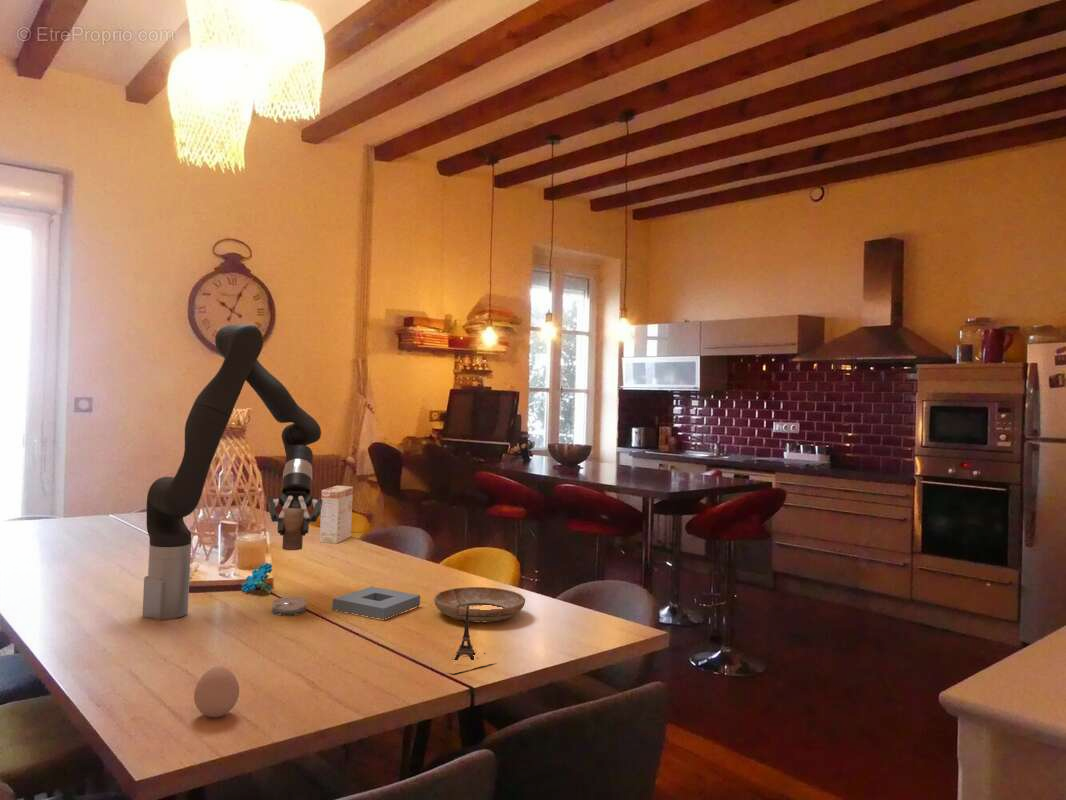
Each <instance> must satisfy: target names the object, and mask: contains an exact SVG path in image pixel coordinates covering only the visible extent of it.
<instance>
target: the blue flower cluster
mask: <svg viewBox="0 0 1066 800" xmlns="http://www.w3.org/2000/svg"><path fill="white" fill-rule="evenodd" d="M272 567H273V564H272V563H268V562H265V563H264V564H260V565H259V566H258V568H257V569H256V568H255V569H253V570H252V571H251V575H248V576H247V577H246V578H245V580H246V581H247V582H246V581H243V583H242V584H241V586H242V587H241V591H242V592H243V593H244V592H245V593H246V594H249V593H250V591H251V592H253V591H255V590H256V588H259V589H260V590H261V591H265V592H266V593H267V594H268V595H271V593H272V592H271V586H269V584H267V583H266V580H267V579H268V578H269V576H270V575H268V573H269V574H271V572H272V571H273V569H272Z"/></svg>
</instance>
